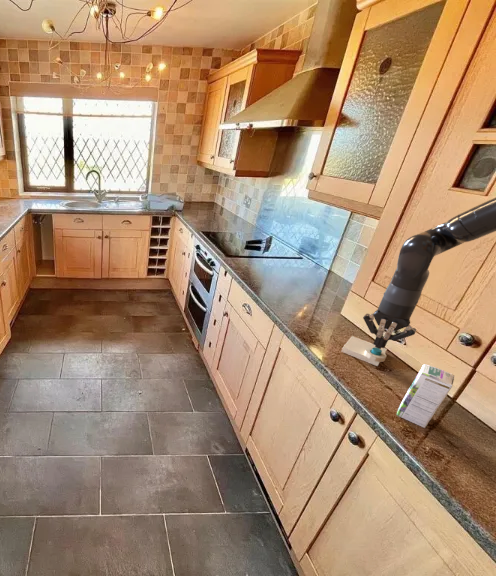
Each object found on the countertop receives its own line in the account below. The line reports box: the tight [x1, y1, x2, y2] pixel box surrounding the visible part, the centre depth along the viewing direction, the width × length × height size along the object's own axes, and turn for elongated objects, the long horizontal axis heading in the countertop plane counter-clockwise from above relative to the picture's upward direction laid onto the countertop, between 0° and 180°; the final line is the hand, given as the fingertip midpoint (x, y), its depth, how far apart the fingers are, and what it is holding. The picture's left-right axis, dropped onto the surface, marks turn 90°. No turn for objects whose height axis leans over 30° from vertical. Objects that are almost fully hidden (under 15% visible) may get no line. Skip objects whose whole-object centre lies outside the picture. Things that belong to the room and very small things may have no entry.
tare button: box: [371, 347, 382, 356], centre depth 98 cm, size 2×2×2 cm
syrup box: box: [396, 363, 455, 429], centre depth 77 cm, size 6×6×14 cm
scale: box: [340, 335, 388, 367], centre depth 103 cm, size 11×11×4 cm
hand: (378, 346), depth 98 cm, fingers closed
